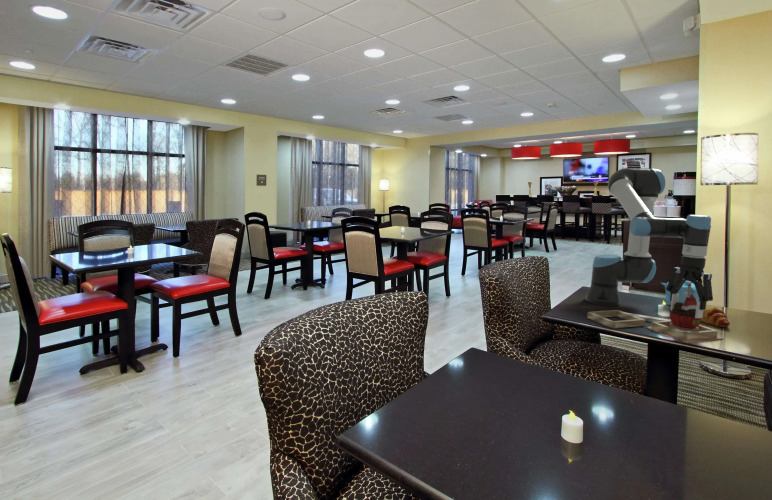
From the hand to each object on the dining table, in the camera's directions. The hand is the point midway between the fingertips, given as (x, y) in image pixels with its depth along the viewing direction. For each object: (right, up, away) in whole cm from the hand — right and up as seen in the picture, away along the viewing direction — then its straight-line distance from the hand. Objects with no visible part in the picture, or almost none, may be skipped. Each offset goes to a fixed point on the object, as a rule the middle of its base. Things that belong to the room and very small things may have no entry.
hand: (685, 313), depth 164 cm
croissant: (+23, -7, +18) cm, 30 cm away
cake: (0, -6, +1) cm, 6 cm away
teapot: (+24, -3, +39) cm, 46 cm away
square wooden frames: (-10, -7, +7) cm, 14 cm away
